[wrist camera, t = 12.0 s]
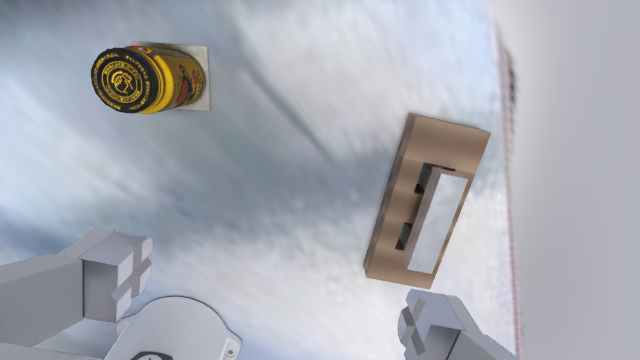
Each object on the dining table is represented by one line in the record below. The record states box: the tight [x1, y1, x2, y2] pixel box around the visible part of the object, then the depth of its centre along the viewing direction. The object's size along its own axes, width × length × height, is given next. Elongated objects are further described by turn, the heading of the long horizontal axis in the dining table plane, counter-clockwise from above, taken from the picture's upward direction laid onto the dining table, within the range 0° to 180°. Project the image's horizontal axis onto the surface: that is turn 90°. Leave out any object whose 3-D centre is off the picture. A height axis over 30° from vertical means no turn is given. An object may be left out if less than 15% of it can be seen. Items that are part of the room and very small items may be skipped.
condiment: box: [91, 41, 210, 114], centre depth 32 cm, size 7×8×12 cm
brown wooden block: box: [363, 113, 491, 289], centre depth 41 cm, size 22×9×3 cm, turn 168°
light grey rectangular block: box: [399, 163, 468, 274], centre depth 39 cm, size 12×3×8 cm, turn 168°
